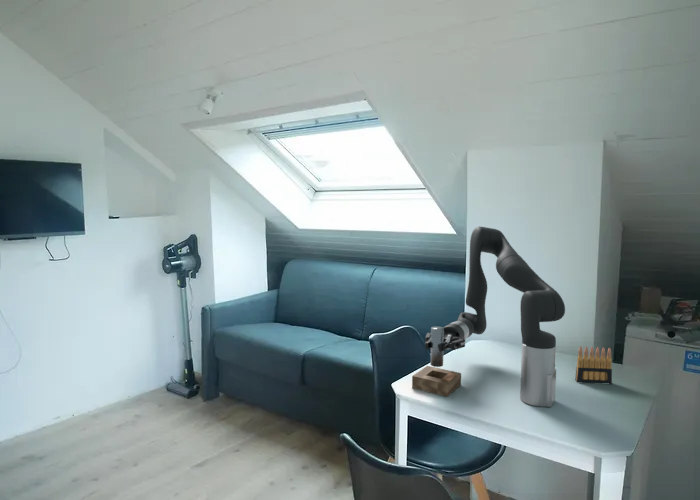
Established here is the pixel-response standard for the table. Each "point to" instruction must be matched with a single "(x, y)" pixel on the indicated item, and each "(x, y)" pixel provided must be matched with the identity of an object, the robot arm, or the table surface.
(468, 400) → the table surface
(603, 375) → the ammunition clip
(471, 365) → the table surface
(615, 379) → the table surface
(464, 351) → the table surface
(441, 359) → the barrel peg
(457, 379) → the block
